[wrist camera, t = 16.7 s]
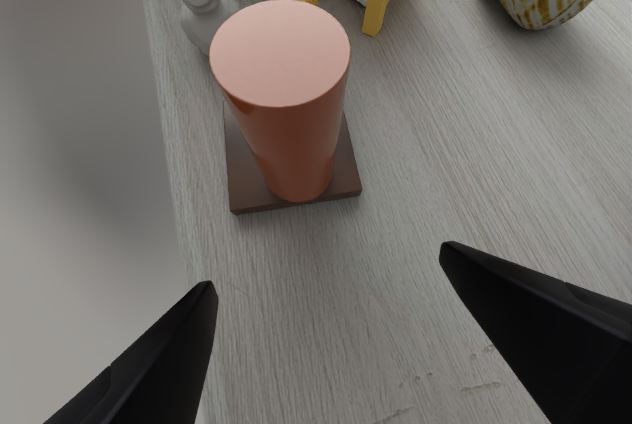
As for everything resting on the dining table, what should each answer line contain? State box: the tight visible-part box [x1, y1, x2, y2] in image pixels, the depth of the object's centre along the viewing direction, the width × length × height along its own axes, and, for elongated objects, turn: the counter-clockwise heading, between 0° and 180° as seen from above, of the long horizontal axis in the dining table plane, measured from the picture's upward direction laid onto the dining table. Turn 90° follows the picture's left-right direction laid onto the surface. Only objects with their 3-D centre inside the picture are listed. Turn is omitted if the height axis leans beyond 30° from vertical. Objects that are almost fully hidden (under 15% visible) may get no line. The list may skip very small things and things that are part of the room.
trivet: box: [223, 100, 362, 215], centre depth 20 cm, size 10×10×1 cm
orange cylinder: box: [209, 0, 351, 202], centre depth 14 cm, size 5×5×10 cm
